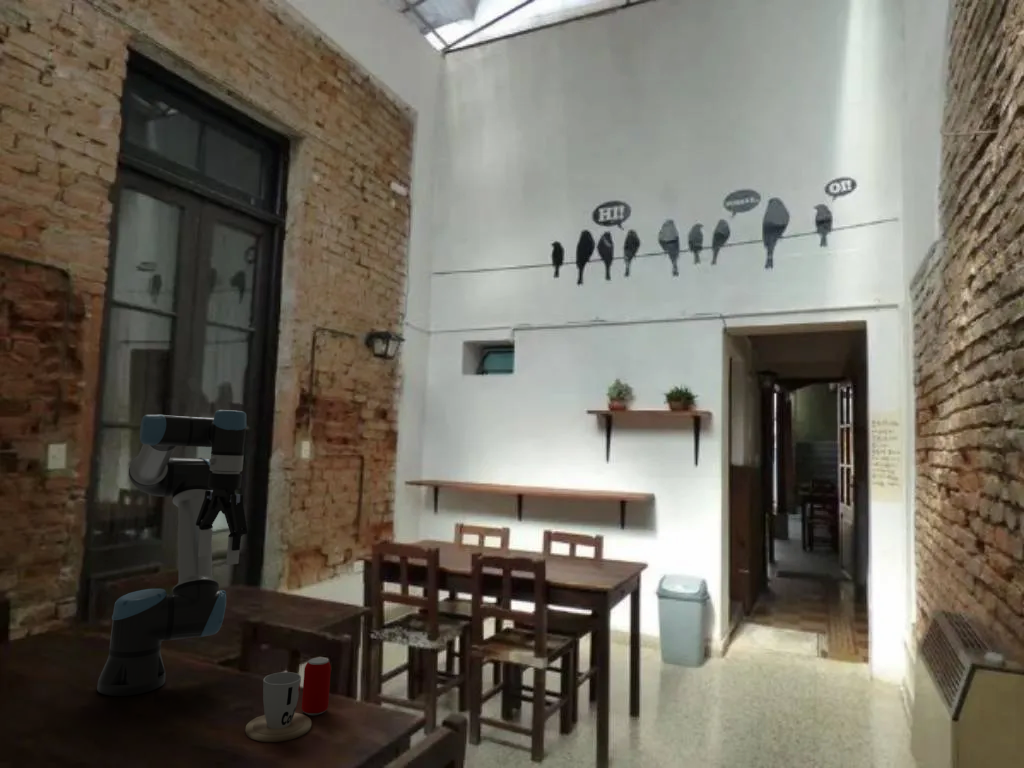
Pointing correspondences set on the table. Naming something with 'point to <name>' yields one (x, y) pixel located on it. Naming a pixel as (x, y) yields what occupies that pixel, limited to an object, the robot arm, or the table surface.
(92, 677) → the table surface
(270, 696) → the cup
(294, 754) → the table surface
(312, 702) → the beverage can
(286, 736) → the plate
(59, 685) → the table surface
